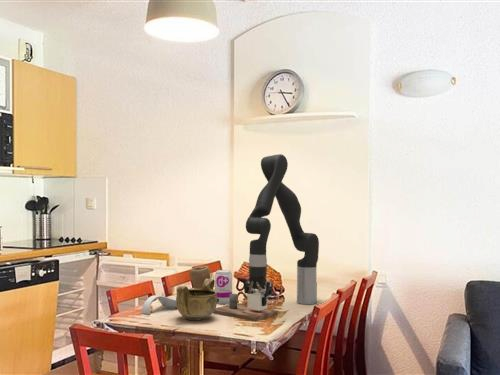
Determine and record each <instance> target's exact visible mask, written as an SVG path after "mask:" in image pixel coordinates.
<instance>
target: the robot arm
mask: <svg viewBox="0 0 500 375" xmlns="http://www.w3.org/2000/svg"><path fill="white" fill-rule="evenodd" d="M288 165H289V164H288V159H287V157H286V156H285V155H283V154H282V153H281V154H273V155H268V156H264V157H263V158H262V159H261V161H260V167H261V172H262V174H263V176H264V177H265V179H266V181H267V183H266V184H265V185H264V186H263V188H262V189H261V191H260V192H259V194H258V196H257V198H256V202H255V206H254V208H253V209H252V211H251V213H250V214H249V216H248V217H247V219H246V220H245V229H246V232H247V233H249V234H251V235H259V237H258V238H256V239H253V240H251V241H250V242H249V255H248V256H249V257H248V276H249V277H247V278H243V280H242V281H243V283H242V284H243V292H244V294H252V293H255V291H256V290H258V291H259V292H258V293H261V295H262V306H266V304H267V305H268V297H269V296H271V295H272V291H273V290H272V289H273V281H272V280H271V281H268V280H267V271H268V270H267V269H268V266H267V265H268V259H267V258H268V257H267V243H268V238H269V235H270V232H271V229H272V228H271V227H272V224H271V221H270V219H268V218H267V217H268V216H270V214H271V212H272V208H273V205H274V201H275V199H276V202H277V204H278V206H279V209H280V211H281V213H282V215H283V218H284V220H285V222H286V226H287V227H288V230H289V234H290V236H291V240H292V242H293V246H294V248H295V249H296V251H299V252H301V253H302V252H303V253H304V256H303V257H302V258H300V259H298V260H297V261H296V262H297V263H296V264H297V265H296V303H297V304H299V305H314V304H316V303H317V302H318V281H317V268H318V267H317V266H318V265H317V264H318V261H319V251H320V249H319V248H320V240H319V237H318V235H317V234H316V233H312V232H305V231H304V230H303V228H302V227H303V226H302V225H301V216H302V207H301V204H300V201H299V199H298V196H297V195H296V193H294V191H293V190H292V189H290V188H289V187H288V186H287V185H286V184H284V182H283V180H284V177H285V175H286V173H287V170H288Z"/></svg>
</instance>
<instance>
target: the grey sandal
mask: <svg viewBox="0 0 500 375" xmlns="http://www.w3.org/2000/svg"><path fill="white" fill-rule="evenodd" d="M156 299H157V300H158V301H159V303H160V304H161V305H162V306H163V307H164V308H165V309H167V310H176V309H177V305H176V297H166V296H163V295H151V296H149V297H147V299H146V300H145V301H144V303H143V305H142V308H141V312H140V313H141V314H143V315H149V316H150V315H151V306H152V303H153V302H154V301H155V300H156ZM177 310H178V309H177Z"/></svg>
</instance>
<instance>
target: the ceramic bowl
mask: <svg viewBox="0 0 500 375" xmlns="http://www.w3.org/2000/svg"><path fill="white" fill-rule="evenodd" d="M214 289H215V278H214V279H213V278H210V279H205V281H204V284H203V287H202V288H201V289H194V288H188V286H186V285H178V286H177V288H176V296H175V298H176V305H177V311H178V313H179V314H180V315H181V316H182V317H183V318H185V319H187V320H190V321H202V320H204V319H207V318H209V317H210V316H211V315H213V314H214V313H213V312H214V311H215V309H216V308H217V305H218V304H217V292H216V291H213V290H214Z"/></svg>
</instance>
